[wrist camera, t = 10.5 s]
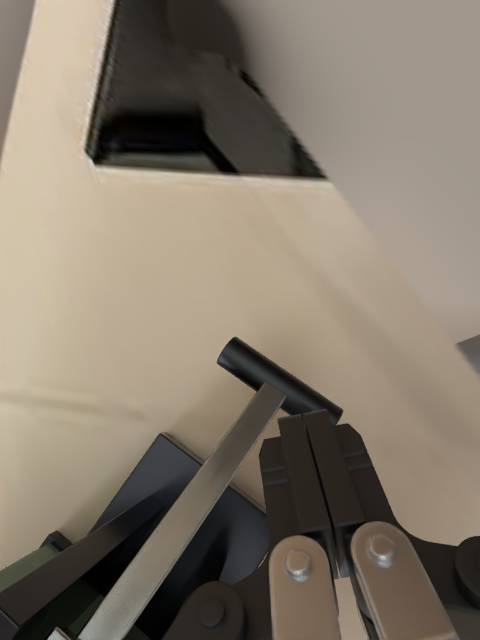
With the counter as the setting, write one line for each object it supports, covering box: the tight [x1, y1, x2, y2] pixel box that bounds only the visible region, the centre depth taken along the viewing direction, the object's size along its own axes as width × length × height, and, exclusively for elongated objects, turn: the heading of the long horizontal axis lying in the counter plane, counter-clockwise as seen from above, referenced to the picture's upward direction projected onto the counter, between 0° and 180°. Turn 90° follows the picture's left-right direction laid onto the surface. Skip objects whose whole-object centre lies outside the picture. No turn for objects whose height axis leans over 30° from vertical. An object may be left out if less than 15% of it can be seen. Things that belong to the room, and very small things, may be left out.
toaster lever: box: [44, 337, 343, 640], centre depth 14 cm, size 14×6×2 cm
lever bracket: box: [0, 432, 270, 640], centre depth 15 cm, size 10×8×14 cm
